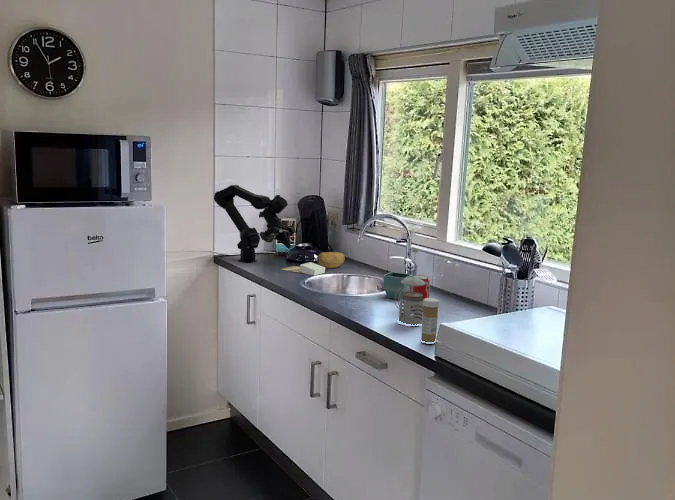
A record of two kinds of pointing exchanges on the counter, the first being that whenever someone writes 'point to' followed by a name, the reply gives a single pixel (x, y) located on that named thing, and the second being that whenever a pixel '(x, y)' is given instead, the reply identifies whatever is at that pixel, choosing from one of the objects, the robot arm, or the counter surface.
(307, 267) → the tile
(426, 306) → the sprinkles bottle
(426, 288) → the soda can
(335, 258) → the potato
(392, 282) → the flower pot
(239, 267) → the counter surface
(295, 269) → the board
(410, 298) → the french press
